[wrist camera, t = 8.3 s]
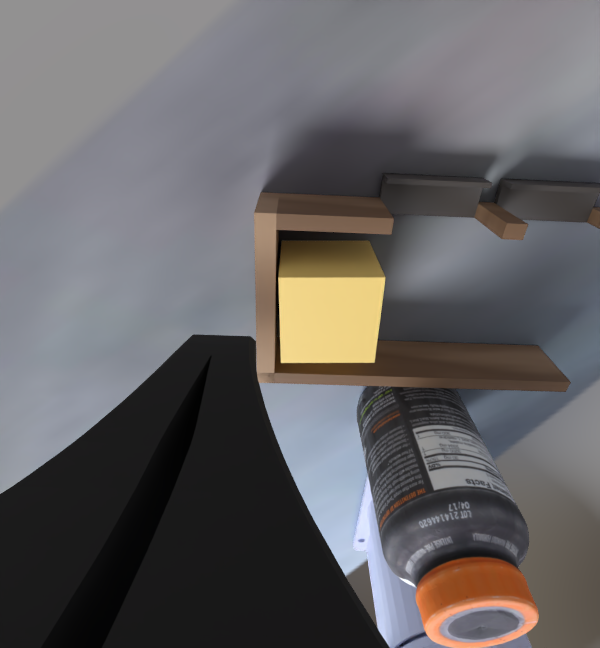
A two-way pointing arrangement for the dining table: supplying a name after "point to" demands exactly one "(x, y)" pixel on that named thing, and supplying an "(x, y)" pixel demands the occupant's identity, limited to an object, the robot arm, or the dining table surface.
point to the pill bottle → (445, 516)
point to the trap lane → (375, 218)
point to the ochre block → (329, 301)
